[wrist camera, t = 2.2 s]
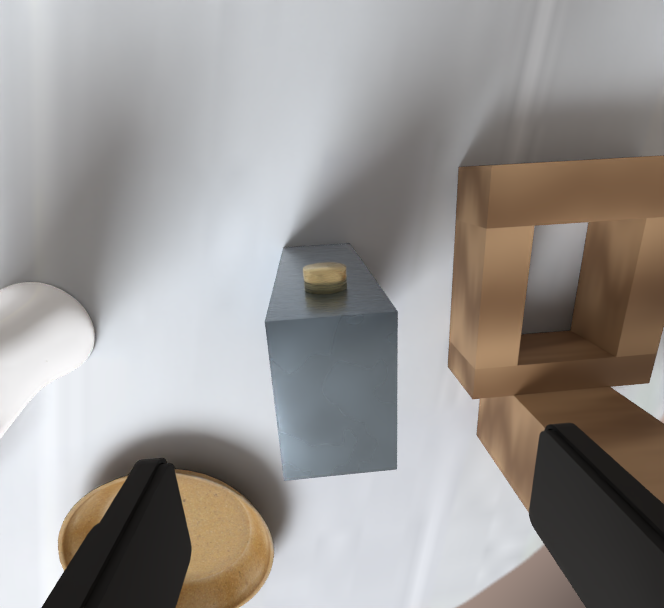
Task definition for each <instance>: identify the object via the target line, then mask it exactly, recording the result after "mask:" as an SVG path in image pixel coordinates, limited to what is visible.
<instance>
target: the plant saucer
mask: <svg viewBox="0 0 664 608" xmlns="http://www.w3.org/2000/svg"><path fill="white" fill-rule="evenodd" d="M175 474H176V478H177V482H178V487H179V491H180V496H181V500H182V505H183V509H184V513H185V518H186V522H187V527H188V531H189V536H190V540H191V546H192V552H191V559H190V563H189V566H188V570H187V573H186V576H185V579H184V582H183V586H182V589H181V592H180V595H179V599H178V602H177V605H176V608H239V607H241V606H242V605H244V604H245V603H247V602H248V601H249V600H250V599H251V598H253V597H254V596H255V595H256V594H257V592H258V591H259V590H260V588H261V587H262V586H263V585H264V583H265V581H266V580H267V578H268V576H269V574H270V571H271V568H272V563H273V558H274V546H273V540H272V536H271V534H270V531H269V528H268V526H267V524H266V523H265V521H264V519H263V518H262V516H261V515H260V514H259V512H258V511H257V510H256V508H255V507H254V506H253V505H252V504H251V503H250V502H249V501H248V500H247V499H246V498H245V497H244V496H243V495H242V494H241V493H239V492H238V491H237V490H235V489H234V488H232V487H231V486H229V485H228V484H226V483H224V482H222V481H220V480H218V479H216V478H213V477H211V476H208V475H205V474H202V473H198V472H194V471H188V470H180V469H175ZM127 477H128V475H127V476H124V477H121V478H118V479H115V480H113V481H111V482H108V483H106V484H104V485H102V486H100V487H98V488H96V489H94V490H93V491H91V492H89V493H88V494H87V495H85V496H84V497H83V498H82V499H80V500H79V501H78V502H77V503H76V504H75V505H74V506H73V508H72V509H71V510H70V512H69V513H68V514H67V516H66V518H65V519H64V521H63V524H62V527H61V529H60V532H59V537H58V551H59V558H60V562H61V564H62V567H63V569H64V571H65V569H66V568H67V566H68V565H69V563H70V561H71V560H72V558H73V557H74V555H75V553H76V552H77V550H78V549H79V547H80V545H81V544H82V542H83V541H84V539H85V537H86V536H87V534H88V533H89V532H90V530H91V529H92V528H93V527H94V526H95V525H96V524H98V523H100V521H101V519H102V518H103V516H104V515H105V513H106V511H107V510H108V508H109V506H110V505H111V503H112V501H113V500H114V498H115V497H116V495H117V493H118V492H119V490H120V488H121V487H122V485H123V484H124V482H125V480H126V479H127Z"/></svg>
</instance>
